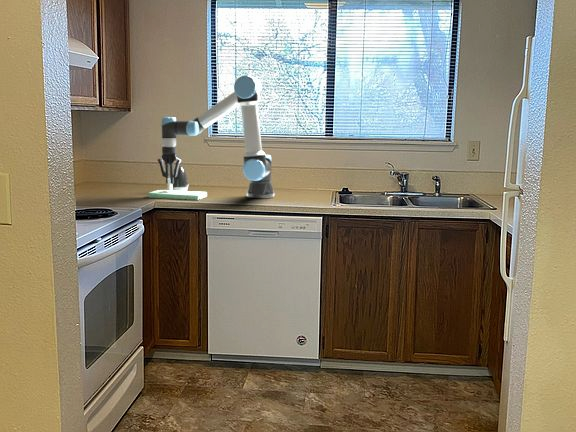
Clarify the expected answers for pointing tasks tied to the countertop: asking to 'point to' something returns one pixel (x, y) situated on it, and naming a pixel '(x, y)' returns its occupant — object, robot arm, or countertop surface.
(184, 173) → the dark grey egg shape
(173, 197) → the green
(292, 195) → the countertop surface
